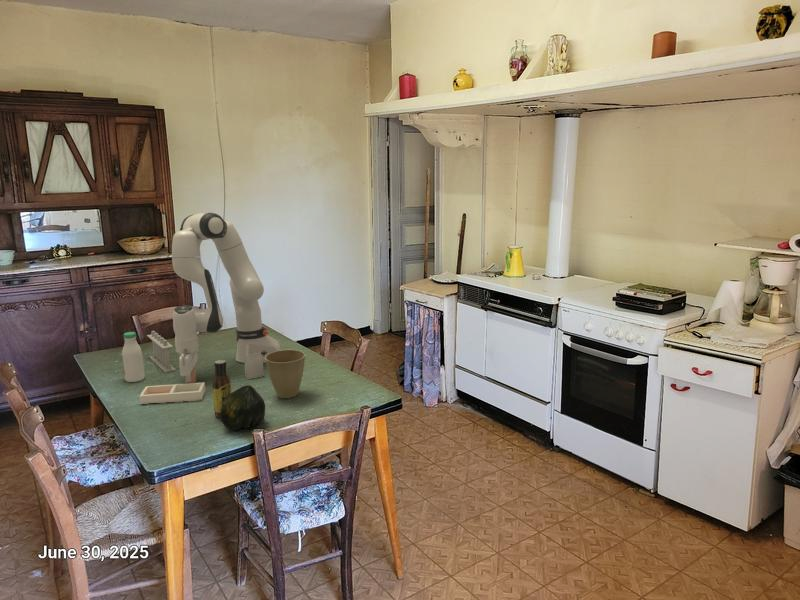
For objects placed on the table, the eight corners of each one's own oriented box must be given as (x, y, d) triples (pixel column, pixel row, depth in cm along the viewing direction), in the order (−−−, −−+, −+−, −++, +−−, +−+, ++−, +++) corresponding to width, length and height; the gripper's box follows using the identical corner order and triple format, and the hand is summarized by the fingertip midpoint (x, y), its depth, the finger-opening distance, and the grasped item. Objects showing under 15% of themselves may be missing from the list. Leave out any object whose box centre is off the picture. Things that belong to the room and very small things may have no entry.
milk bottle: (149, 377, 255) (143, 331, 250) (134, 383, 248) (128, 336, 243) (135, 374, 258) (130, 329, 253) (120, 381, 251) (114, 334, 246)
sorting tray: (205, 390, 239) (204, 382, 238) (201, 400, 230) (200, 391, 229) (146, 394, 236) (145, 386, 235) (140, 405, 226) (139, 396, 225)
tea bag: (263, 376, 254) (262, 353, 251) (247, 379, 250) (246, 356, 248) (260, 374, 257) (259, 351, 254) (245, 377, 253) (243, 354, 251)
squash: (206, 412, 206) (225, 385, 199) (239, 398, 218) (258, 373, 211) (229, 445, 202) (249, 419, 195) (261, 429, 215) (281, 405, 207)
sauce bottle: (225, 419, 213) (220, 365, 208) (211, 417, 215) (205, 363, 210) (236, 412, 218) (232, 359, 214) (222, 410, 221) (217, 357, 216)
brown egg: (196, 381, 249) (195, 367, 248) (195, 385, 245) (193, 371, 244) (186, 382, 248) (185, 368, 247) (185, 385, 245) (183, 371, 243)
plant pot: (262, 392, 236) (259, 353, 232) (298, 385, 243) (296, 347, 240) (275, 406, 224) (272, 364, 220) (313, 397, 231) (310, 357, 227)
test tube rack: (175, 370, 263) (172, 341, 260) (165, 372, 260) (162, 343, 257) (159, 356, 282) (155, 328, 279) (149, 358, 280) (145, 330, 277)
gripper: (190, 353, 234) (194, 387, 237) (199, 338, 253) (202, 369, 256) (173, 354, 233) (177, 388, 236) (183, 339, 252) (186, 370, 255)
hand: (190, 378), depth 246 cm, fingers closed on brown egg, 4 cm apart
